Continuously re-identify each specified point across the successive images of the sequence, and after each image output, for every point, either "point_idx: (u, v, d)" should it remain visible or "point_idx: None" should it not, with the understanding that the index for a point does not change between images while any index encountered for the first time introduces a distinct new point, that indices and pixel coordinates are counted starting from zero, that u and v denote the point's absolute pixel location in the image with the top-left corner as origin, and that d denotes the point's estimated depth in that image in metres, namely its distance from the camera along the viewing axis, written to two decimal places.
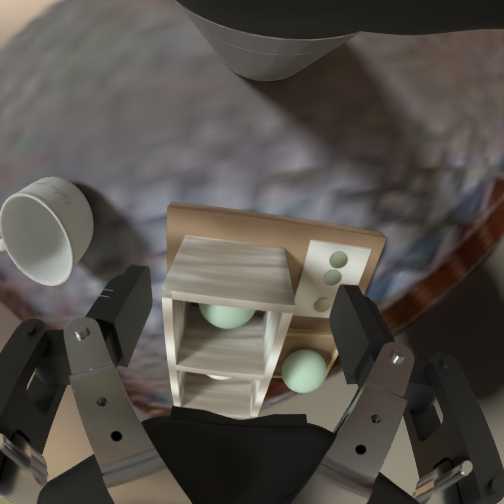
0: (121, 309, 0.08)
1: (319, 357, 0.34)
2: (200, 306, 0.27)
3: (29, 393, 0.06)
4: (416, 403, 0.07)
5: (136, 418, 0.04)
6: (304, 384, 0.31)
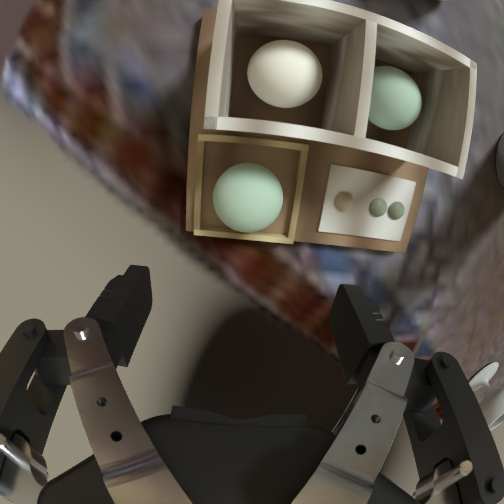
0: (121, 309, 0.08)
1: None
2: (399, 70, 0.17)
3: (29, 393, 0.06)
4: (416, 403, 0.07)
5: (136, 418, 0.04)
6: (259, 202, 0.21)
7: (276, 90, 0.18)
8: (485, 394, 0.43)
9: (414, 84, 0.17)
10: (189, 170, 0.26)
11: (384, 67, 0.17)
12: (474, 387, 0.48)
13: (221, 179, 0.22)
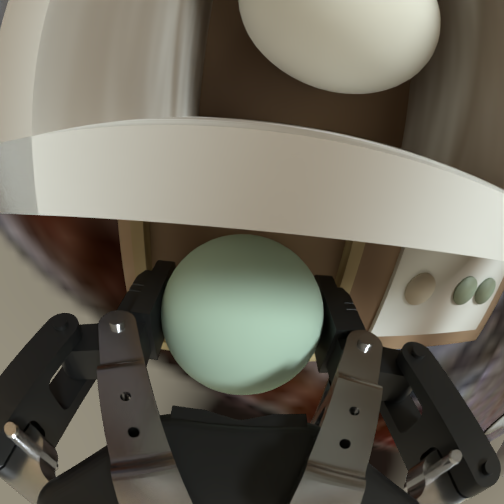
0: (155, 302, 0.09)
1: None
2: None
3: (53, 385, 0.07)
4: (387, 393, 0.08)
5: (157, 417, 0.05)
6: (271, 364, 0.08)
7: (336, 29, 0.04)
8: None
9: None
10: (123, 235, 0.12)
11: None
12: (495, 429, 0.35)
13: (173, 289, 0.09)
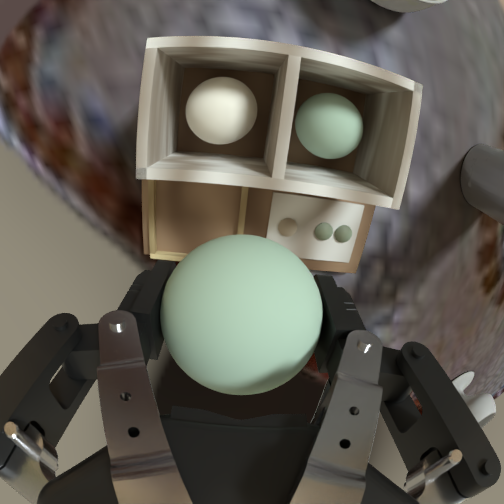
0: (155, 302, 0.09)
1: None
2: (337, 97, 0.19)
3: (53, 385, 0.07)
4: (387, 393, 0.08)
5: (157, 417, 0.05)
6: (270, 365, 0.08)
7: (207, 131, 0.20)
8: None
9: (353, 111, 0.19)
10: (143, 200, 0.28)
11: (322, 95, 0.20)
12: None
13: (172, 289, 0.09)
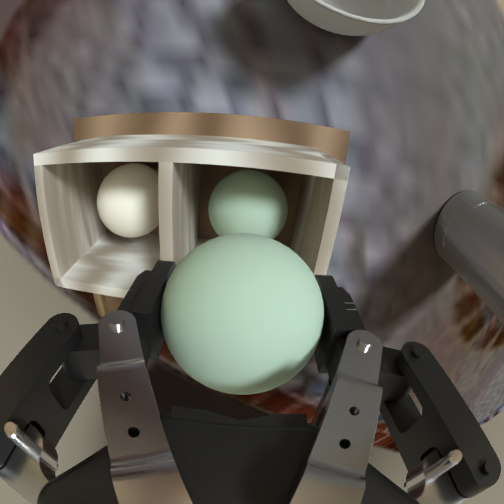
0: (155, 302, 0.09)
1: None
2: (250, 180, 0.19)
3: (53, 385, 0.07)
4: (387, 393, 0.08)
5: (157, 417, 0.05)
6: (271, 364, 0.08)
7: (115, 231, 0.20)
8: None
9: (266, 199, 0.19)
10: None
11: (232, 179, 0.19)
12: None
13: (173, 288, 0.09)
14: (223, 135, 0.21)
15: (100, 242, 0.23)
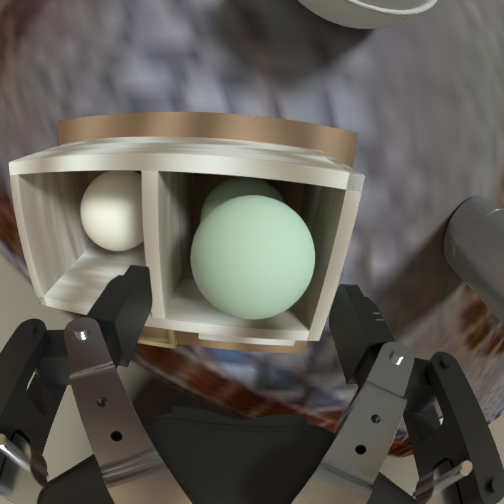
0: (121, 309, 0.08)
1: None
2: (245, 190, 0.17)
3: (29, 393, 0.06)
4: (416, 403, 0.07)
5: (136, 418, 0.04)
6: (289, 269, 0.11)
7: (100, 245, 0.18)
8: None
9: None
10: None
11: (225, 189, 0.17)
12: None
13: (208, 228, 0.12)
14: (218, 137, 0.19)
15: (87, 254, 0.21)
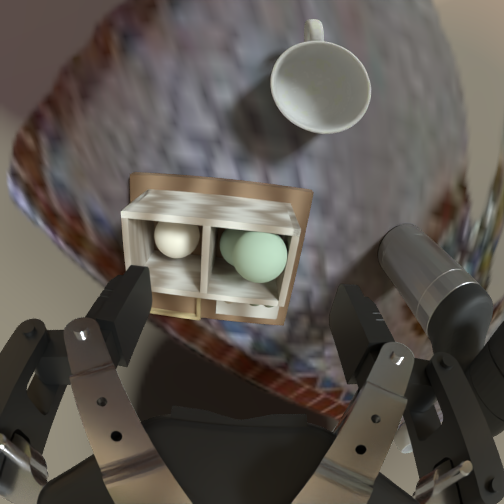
0: (121, 309, 0.08)
1: None
2: (241, 233, 0.34)
3: (29, 393, 0.06)
4: (416, 403, 0.07)
5: (136, 418, 0.04)
6: (284, 246, 0.30)
7: (167, 255, 0.35)
8: None
9: None
10: None
11: (232, 230, 0.34)
12: None
13: (251, 238, 0.29)
14: (233, 195, 0.37)
15: (151, 259, 0.38)
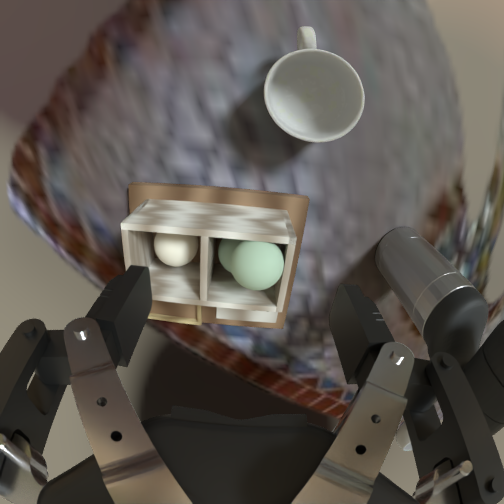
0: (121, 309, 0.08)
1: None
2: (238, 241, 0.35)
3: (29, 393, 0.06)
4: (416, 403, 0.07)
5: (136, 418, 0.04)
6: (281, 255, 0.31)
7: (167, 263, 0.35)
8: None
9: None
10: None
11: (229, 239, 0.35)
12: None
13: (248, 247, 0.29)
14: (230, 203, 0.37)
15: (152, 267, 0.39)
